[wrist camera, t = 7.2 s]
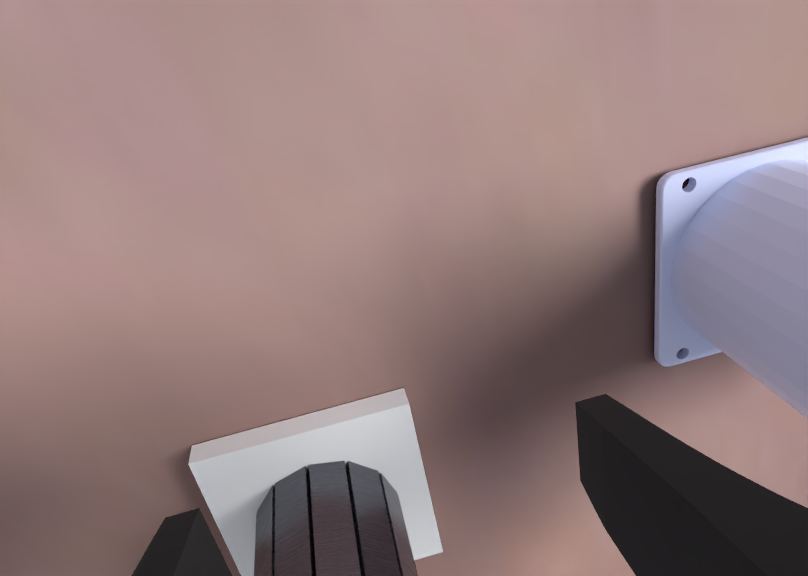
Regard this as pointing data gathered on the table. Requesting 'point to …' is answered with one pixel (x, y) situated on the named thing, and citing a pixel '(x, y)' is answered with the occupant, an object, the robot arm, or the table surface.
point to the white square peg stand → (312, 444)
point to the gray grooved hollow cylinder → (332, 525)
